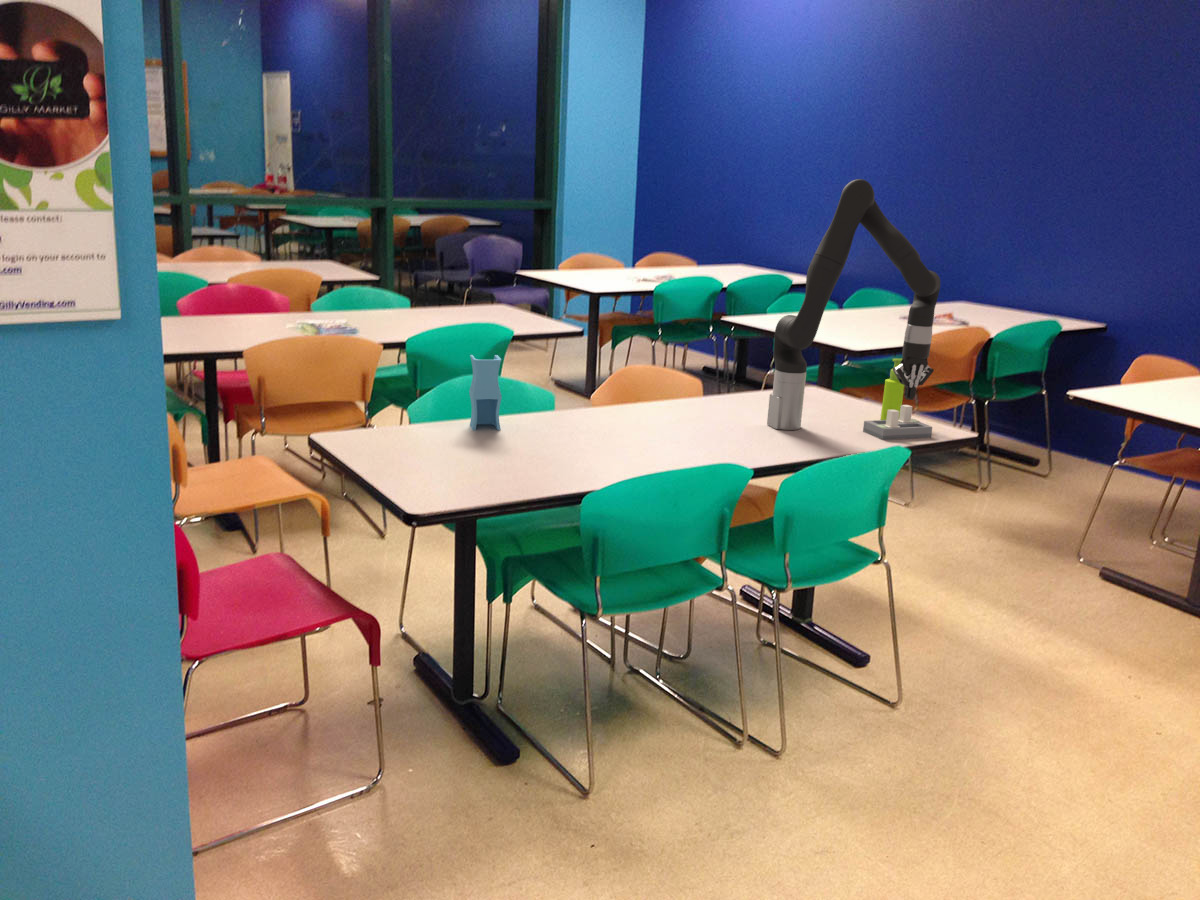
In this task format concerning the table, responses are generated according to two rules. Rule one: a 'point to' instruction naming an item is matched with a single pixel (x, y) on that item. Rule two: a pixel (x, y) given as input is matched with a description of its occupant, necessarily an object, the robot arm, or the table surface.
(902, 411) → the tab
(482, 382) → the notched blue pillar
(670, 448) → the table surface
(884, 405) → the soap dispenser
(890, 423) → the tab
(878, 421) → the switch bank
